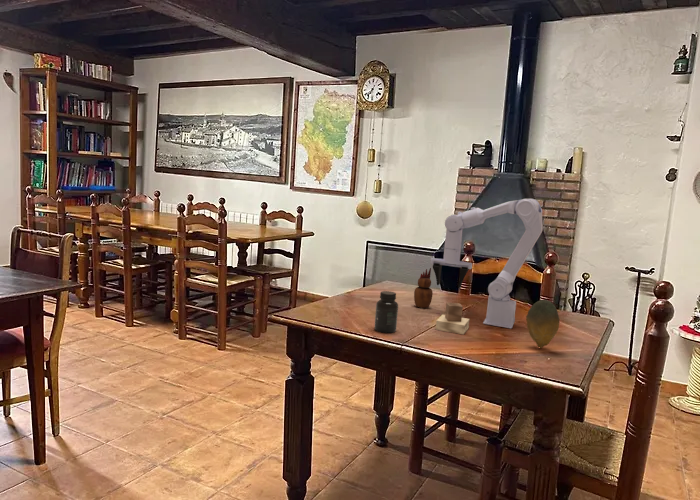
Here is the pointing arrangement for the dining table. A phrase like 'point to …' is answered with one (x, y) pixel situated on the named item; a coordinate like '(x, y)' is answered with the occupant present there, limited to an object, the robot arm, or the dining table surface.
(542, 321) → the mango
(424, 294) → the wooden figurine
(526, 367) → the dining table surface
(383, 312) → the supplement bottle
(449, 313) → the walnut block
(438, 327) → the base block
